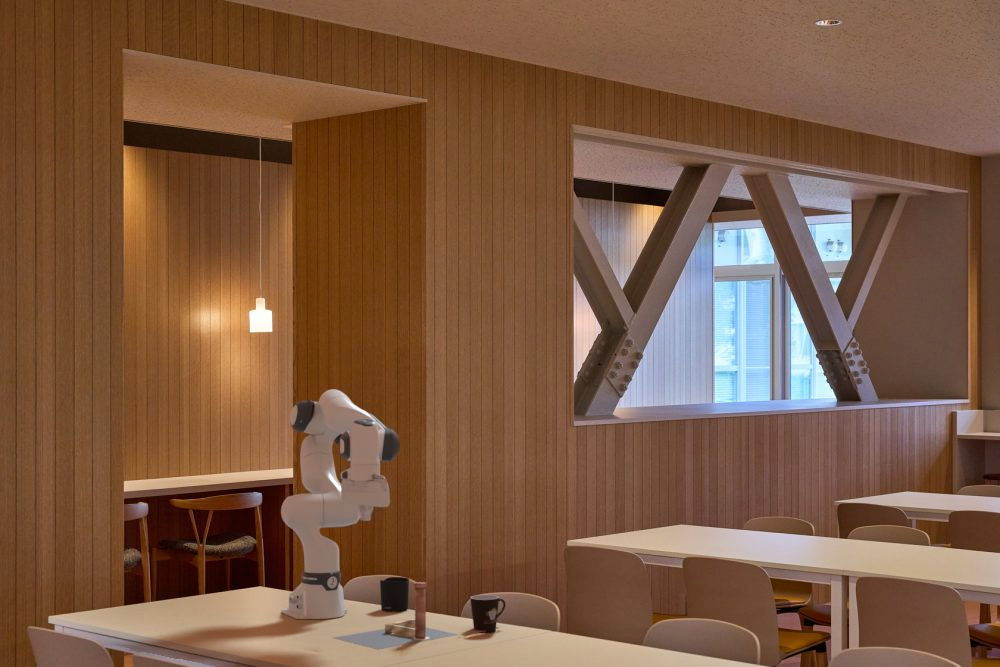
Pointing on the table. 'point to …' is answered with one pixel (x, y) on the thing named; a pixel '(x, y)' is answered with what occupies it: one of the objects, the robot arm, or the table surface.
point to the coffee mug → (485, 612)
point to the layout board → (390, 638)
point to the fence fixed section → (405, 623)
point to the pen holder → (394, 594)
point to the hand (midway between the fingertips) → (365, 520)
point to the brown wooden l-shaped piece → (416, 615)
